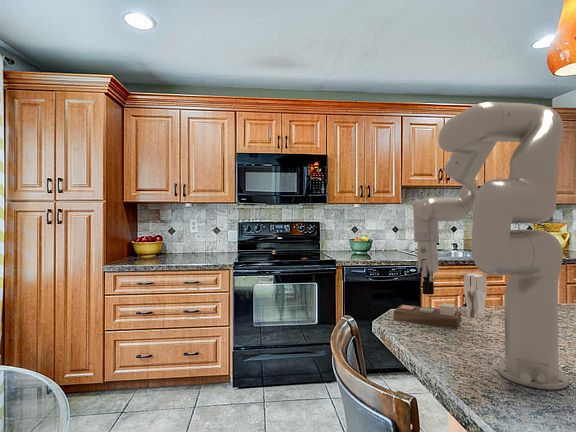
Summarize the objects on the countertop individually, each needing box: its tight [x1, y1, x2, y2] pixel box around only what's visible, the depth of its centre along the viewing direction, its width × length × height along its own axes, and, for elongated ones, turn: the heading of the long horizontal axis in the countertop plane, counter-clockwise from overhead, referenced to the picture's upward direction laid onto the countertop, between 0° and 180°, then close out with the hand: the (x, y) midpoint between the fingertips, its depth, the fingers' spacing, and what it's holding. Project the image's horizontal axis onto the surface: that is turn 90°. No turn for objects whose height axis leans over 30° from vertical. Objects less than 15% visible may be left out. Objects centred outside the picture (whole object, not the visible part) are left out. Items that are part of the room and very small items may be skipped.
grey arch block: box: [463, 272, 488, 319], centre depth 121 cm, size 7×7×15 cm
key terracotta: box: [400, 304, 415, 311], centre depth 119 cm, size 4×4×3 cm
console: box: [393, 304, 462, 330], centre depth 116 cm, size 10×19×4 cm, turn 58°
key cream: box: [439, 302, 456, 316], centre depth 113 cm, size 4×4×3 cm
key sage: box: [419, 307, 436, 314], centre depth 116 cm, size 4×4×3 cm
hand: (428, 293), depth 115 cm, fingers closed
